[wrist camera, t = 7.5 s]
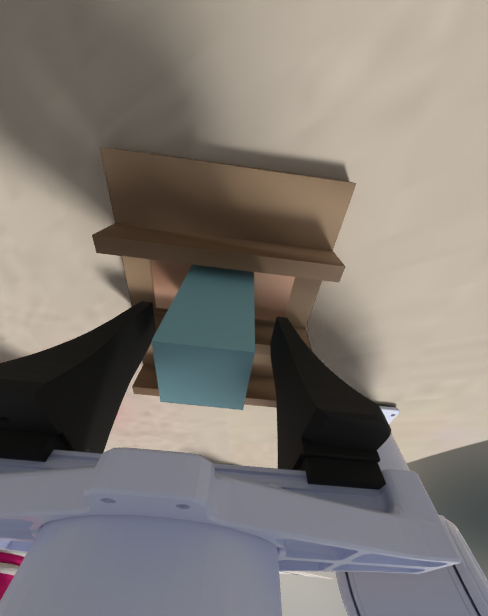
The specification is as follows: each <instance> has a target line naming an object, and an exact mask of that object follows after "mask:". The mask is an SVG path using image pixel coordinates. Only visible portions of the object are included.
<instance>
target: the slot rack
mask: <svg viewBox="0 0 488 616" xmlns="http://www.w3.org/2000/svg"><path fill="white" fill-rule="evenodd" d="M100 150H101V155H102V160H103V165H104V170H105V175H106V180H107V185H108V190H109V195H110V200H111V205H112V210H113V215H114V220H115V224H113V225H111V226H109V227H107V228H105V229H103V230H101V231H99V232H97V233H95V234H93V235H92V237H93V241H94V245H95V248H96V252H97V253H102V254H110V255H118V256H122V259H123V264H124V269H125V274H126V279H127V284H128V289H129V294H130V299H131V304H132V307H133V306H134V305H136V304H138V303H139V302H141V301H145V302H152V303H153V310H154V317H155V325H156V331H157V330H158V328H159V326H160V324H161V322H162V320H163V318H164V316H165V315H166V313H167V311H168V309H169V307H170V305H171V303H172V302H173V300H174V298H175V296H176V294H177V292H178V290H179V289H180V287H181V285H182V283H183V281H184V279H185V277H186V275H187V274H188V272H189V270H190V268H191V266H192V265H201V266H209V267H217V268H225V269H234V270H242V271H250V272H254V309H255V355H254V360H253V364H252V369H251V374H250V379H249V383H248V388H247V393H246V397H245V402H244V404H246V405H256V406H267V407H277V403H276V391H275V384H274V377H273V370H272V364H271V352H270V342H271V338H272V334H273V330H274V326H275V322H276V318H277V317H286V318H288V320H289V321H290V322H291V324H292V325H293V327H294V328H295V330H296V331H297V333H298V334H299V336H300V337H301V338H302V340H303V341H304V342H305V344H306V345H307V346H308V347H309V349H310V350H311V351H312V349H311V346H310V342H309V339H308V336H307V332H306V329H305V327H306V324H307V321H308V319H309V316H310V313H311V310H312V307H313V304H314V302H315V299H316V296H317V293H318V290H319V287H320V285H321V282H322V280H324V281H333V282H339V281H340V279H341V276H342V274H343V271H344V269H345V266H344V264H343V263H342V262H341V261H340V259H339V258H338V257H337V256H336V254H335V253H334V252H333V248H334V245H335V242H336V239H337V237H338V234H339V231H340V228H341V225H342V222H343V220H344V217H345V214H346V211H347V208H348V205H349V203H350V200H351V197H352V194H353V191H354V188H355V186H356V183H353V182H349V181H342V180H334V179H327V178H320V177H313V176H306V175H299V174H292V173H284V172H277V171H270V170H263V169H256V168H249V167H242V166H235V165H227V164H220V163H213V162H206V161H199V160H192V159H185V158H177V157H170V156H163V155H156V154H149V153H142V152H135V151H128V150H120V149H113V148H100ZM155 333H156V332H155ZM154 335H155V334H154ZM143 364H144V365H143V367H142V369H141V371H140V373H139V374H138V376H137V378H136V380H135V382H134V384H133V386H132V388H133V392H134V394H143V395H153V396H160V395H159V388H158V382H157V375H156V368H155V362H154V355H153V349H152V342H151V345H150V347H149V348H148V350H147V352H146V354H145V356H144V358H143Z"/></svg>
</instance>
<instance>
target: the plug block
mask: <svg viewBox="0 0 488 616" xmlns="http://www.w3.org/2000/svg"><path fill="white" fill-rule="evenodd" d="M151 342H152V349H153V355H154V362H155V368H156V375H157V382H158V388H159V395H160V401H161V402H168V403H178V404H188V405H199V406H209V407H219V408H229V409H239V410H243V407H244V402H245V397H246V393H247V388H248V383H249V379H250V374H251V369H252V364H253V360H254V355H255V309H254V272H250V271H242V270H234V269H225V268H217V267H209V266H201V265H192V266H191V268H190V270H189V272H188V274H187V275H186V277H185V279H184V281H183V283H182V285H181V287H180V289H179V290H178V292H177V294H176V296H175V298H174V300H173V302H172V303H171V305H170V307H169V309H168V311H167V313H166V315H165V316H164V318H163V320H162V322H161V324H160V326H159V328H158V330H157V331H156V333H155V335H154V337H153V339H152V341H151Z"/></svg>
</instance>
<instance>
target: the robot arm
mask: <svg viewBox="0 0 488 616" xmlns="http://www.w3.org/2000/svg"><path fill="white" fill-rule="evenodd" d="M155 332H156V325H155V317H154V310H153V303H152V302H145V301H141V302H139V303H138V304H136V305H134V306H133V307H131V308H129V309H128V310H126V311H125V312H123V313H121V314H120V315H118V316H117V317H115V318H113V319H112V320H110V321H108V322H106V323H105V324H103V325H101V326H99V327H97V328H96V329H94V330H92V331H90V332H88V333H86V334H84V335H81V336H79V337H77V338H75V339H72V340H70V341H68V342H65V343H62V344H60V345H57V346H55V347H52V348H50V349H47V350H44V351H41V352H38V353H35V354H32V355H28V356H25V357H22V358H18V359H15V360H11V361H7V362H3V363H0V549H1V550H10V551H18V552H26V553H27V554H26V556H25V558H24V559H23V561H22V563H21V565H20V566H19V568H18V570H17V572H16V574H15V575H14V577H13V579H12V581H11V582H10V584H9V586H8V588H7V590H6V591H5V593H4V595H3V597H2V598H1V600H0V616H282V609H281V593H280V578H279V571H335V572H336V577H337V582H338V586H339V590H340V593H341V597H342V600H343V603H344V606H345V608H346V611H347V613H348V616H488V580H487V579H486V577H485V575H484V573H483V571H482V570H481V568H480V566H479V564H478V563H477V561H476V559H475V557H474V556H473V554H472V552H471V550H470V548H469V547H468V545H467V543H466V542H465V540H464V538H463V537H462V535H461V533H460V532H459V530H458V529H457V528H456V526H455V525H454V524H453V523H451V522H450V521H448V520H446V519H445V518H444V517H443V516H441V515H438V514H437V512H436V510H435V508H434V506H433V504H432V502H431V500H430V498H429V496H428V494H427V492H426V490H425V488H424V486H423V484H422V482H421V480H420V478H419V476H418V475H417V473H416V472H414V471H410V470H409V468H408V466H407V464H406V462H405V460H404V458H403V456H402V454H401V452H400V450H399V448H398V446H397V444H396V442H395V440H394V438H393V436H392V434H391V428H390V426H389V423H390V422H391V421H392V420H393V419H394V418H395V417H396V416H397V415H398V414H399V410H398V408H396V407H386V406H379V405H377V404H375V403H374V402H372V401H371V400H369V399H368V398H366V397H365V396H363V395H361V394H360V393H358V392H357V391H356V390H354V389H353V388H352V387H350V386H349V385H348V384H346V383H345V382H344V381H342V380H341V379H340V378H339V377H338V376H336V375H335V374H334V373H333V372H332V371H331V370H330V369H328V368H327V367H326V366H325V365H324V364H323V363H322V362H321V361H320V360H319V359H318V358H317V357H316V356H315V354H314V353H313V352H312V351H311V350H310V349H309V347H308V346H307V345H306V344H305V342H304V341H303V340H302V338H301V337H300V336H299V334H298V333H297V331H296V330H295V328H294V327H293V325H292V324H291V322H290V321H289V320H288V318H286V317H277V318H276V322H275V326H274V330H273V334H272V338H271V342H270V352H271V364H272V370H273V377H274V384H275V391H276V403H277V431H278V469H275V468H263V467H251V466H240V465H228V464H216V463H212V462H211V461H210V460H208V459H207V458H205V457H203V456H201V455H196V454H191V453H183V452H172V451H160V450H149V449H137V448H113V449H111V450H108V451H106V452H104V449H105V446H106V443H107V440H108V437H109V434H110V431H111V429H112V426H113V423H114V420H115V418H116V415H117V412H118V410H119V407H120V405H121V402H122V400H123V397H124V395H125V393H126V390H127V388H128V386H129V383H130V381H131V379H132V377H133V375H134V374H135V372H136V370H137V368H138V367H139V365H140V363H141V361H142V359H143V358H144V356H145V354H146V352H147V350H148V348H149V347H150V345H151V341H152V339H153V337H154V334H155ZM103 452H104V453H103Z"/></svg>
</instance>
